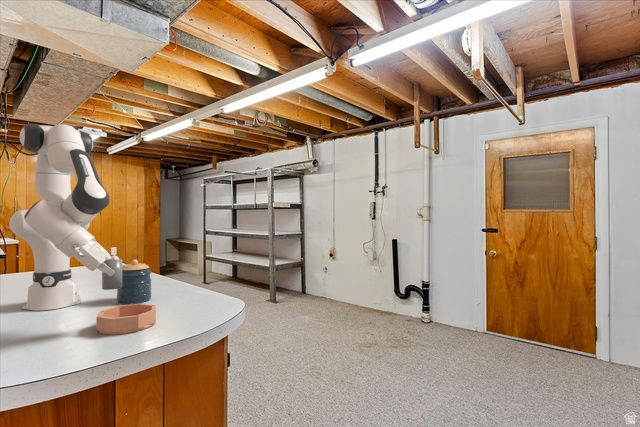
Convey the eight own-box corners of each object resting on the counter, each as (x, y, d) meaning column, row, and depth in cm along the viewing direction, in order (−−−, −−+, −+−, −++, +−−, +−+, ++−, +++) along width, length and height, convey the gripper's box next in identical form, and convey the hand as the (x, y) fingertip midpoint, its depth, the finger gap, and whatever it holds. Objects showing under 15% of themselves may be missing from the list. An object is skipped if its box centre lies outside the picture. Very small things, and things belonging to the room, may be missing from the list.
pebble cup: (103, 287, 108) (103, 255, 108) (123, 285, 110) (123, 254, 110) (100, 290, 103) (100, 257, 103) (121, 288, 105) (121, 255, 105)
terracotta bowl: (101, 322, 112) (102, 307, 112) (155, 315, 120) (155, 301, 120) (93, 338, 98) (93, 321, 98) (155, 329, 105) (155, 313, 105)
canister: (150, 295, 150) (150, 256, 150) (152, 302, 139) (152, 260, 139) (116, 299, 143) (117, 258, 143) (116, 306, 132) (116, 262, 132)
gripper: (79, 238, 94) (119, 269, 99) (92, 234, 113) (125, 261, 117) (59, 254, 92) (101, 286, 97) (76, 248, 111) (111, 275, 115)
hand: (114, 272), depth 107 cm, fingers closed on pebble cup, 5 cm apart
